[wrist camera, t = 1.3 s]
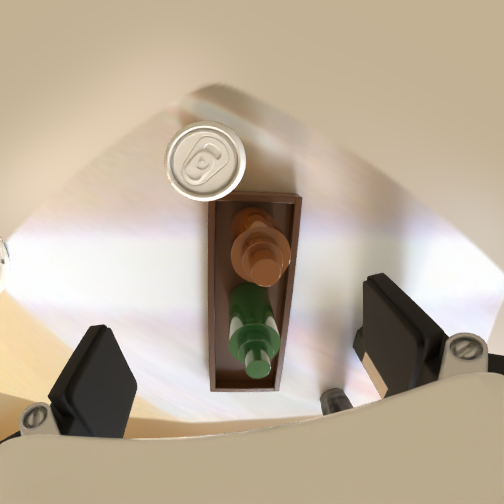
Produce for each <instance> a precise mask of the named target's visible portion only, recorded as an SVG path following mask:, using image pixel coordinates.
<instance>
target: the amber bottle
mask: <svg viewBox="0 0 504 504" xmlns="http://www.w3.org/2000/svg"><path fill="white" fill-rule="evenodd" d="M230 243H231V262H232V265H233V267H234V269H235V271H236V272H237V273H238V274H239V275H240V276H241V277H242V278H244V279H245V280H247V281H250V282H254V283H256V284H257V285H259V286H263V287H268V286H271V285H274V284H275V283H276V282H277V281H278V280H279V278H280V276H281V275H282V274H283V272H284V271H285V270H286V268H287V267H288V265H289V262H290V258H291V250H290V246H289V243H288V241H287V239H286V238H285V236H284V234H283V233H282V231H281V229H280V228H279V226H278V224H277V223H276V221H275V220H274V218H273V216H272V215H271V213H270V212H269V211H268V210H266V209H265V208H263V207H260V206H256V205H250V206H246V207H243V208H241V209H240V210H239V211H237V212H236V213H235V215H234V216H233V218H232V220H231V224H230Z"/></svg>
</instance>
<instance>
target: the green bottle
mask: <svg viewBox="0 0 504 504" xmlns="http://www.w3.org/2000/svg"><path fill="white" fill-rule="evenodd" d="M228 335H229V350H230V352H231V354H232V355H233V357H234V358H235V359H237V360H238V361H240V362H242V363H244V364H245V369H246V373H247V374H248V376H250V377H252V378H263V377H265V376H267V375H268V374H269V373H270V370H271V366H270V360H271V359H272V358H273V357H274V356H275V355H276V354H277V353H278V351H279V349H280V345H281V340H280V336H279V332H278V328H277V324H276V321H275V317H274V313H273V309H272V305H271V302H270V298H269V294H268V292H267V291H266V289H265V288H264V287H263V286H259V285H257V284H256V283H253V282H245V283H242V284H239V285H237V286H236V287H235V288H234V289H233V290H232V291H231V292H230V294H229V297H228Z"/></svg>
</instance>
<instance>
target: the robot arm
mask: <svg viewBox="0 0 504 504" xmlns="http://www.w3.org/2000/svg"><path fill="white" fill-rule="evenodd" d="M9 277H10V263H9V257H8V254H7V250H6V248H5V245H4V243H3V241H2V239H1V237H0V292H1V291H2V290H4V288H5V287H6V286H7V284H8V281H9ZM363 346H364V349H365V351H366V353H367V355H368V356H369V358H370V359H371V361H372V363H373V364H374V366H375V368H376V369H377V371H378V373H379V375H380V376H381V378H382V380H383V381H384V383H385V385H386V386H387V388H388V390H389V392H390V393H391V395H392V396H390V397H387V398H384V399H381V400H378V401H375V402H372V403H368V404H365V405H361V406H358V407H354V408H351V409H347V410H344V411H340V412H336V413H332V414H328V415H324V416H320V417H316V418H312V419H307V420H303V421H298V422H293V423H288V424H283V425H278V426H272V427H267V428H260V429H254V430H247V431H240V432H232V433H224V434H216V435H215V434H214V435H204V436H191V437H175V438H144V439H141V438H137V439H130V438H128V439H127V438H123V435H124V432H125V428H126V424H127V421H128V418H129V414H130V411H131V407H132V404H133V401H134V397H135V394H136V391H137V382H136V380H135V378H134V376H133V374H132V372H131V370H130V368H129V366H128V364H127V362H126V360H125V358H124V356H123V354H122V352H121V349H120V347H119V345H118V343H117V341H116V339H115V337H114V334H113V332H112V330H111V329H110V328H107V326H106V325H104V324H103V325H95V326H90V327H89V329H88V330H87V332H86V333H85V335H84V337H83V338H82V340H81V341H80V343H79V344H78V346H77V348H76V349H75V351H74V352H73V354H72V356H71V357H70V359H69V361H68V362H67V364H66V366H65V367H64V369H63V371H62V372H61V374H60V376H59V377H58V379H57V381H56V382H55V384H54V386H53V388H52V389H51V391H50V393H49V395H48V398H49V399H50V401H51V402H52V403H51V405H50V406H49V405H48V404H46V403H43V402H39V403H35V404H32V405H30V406H29V407H28V408H26V409H25V410H24V411H23V413H22V414H21V416H20V419H19V427H20V431H18V432H16V433H15V434H13V435H11V436H9V437H7V438H6V439H4V440H2V441H0V504H504V356H502V355H495V354H489V353H488V347H487V344H486V342H485V341H484V340H483V339H482V338H481V337H479V336H477V335H475V334H471V333H458V334H455V335H453V336H451V337H450V338H449V337H448V336H447V335H446V334H445V333H444V331H443V330H442V329H441V328H440V327H439V326H438V325H437V324H436V323H435V322H434V321H433V320H432V319H431V318H430V317H429V316H428V315H427V314H426V313H425V312H424V311H423V310H422V309H421V308H420V307H419V306H418V305H417V304H416V303H415V302H414V301H413V300H412V299H411V298H410V297H409V296H408V295H407V294H406V293H405V292H403V291H402V290H401V289H400V288H399V287H398V286H397V285H396V284H395V283H394V282H393V281H392V280H391V279H390V278H388V277H387V276H386V275H385V274H384V273H379V274H375V275H371V276H368V277H367V281H364V282H363Z"/></svg>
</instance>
